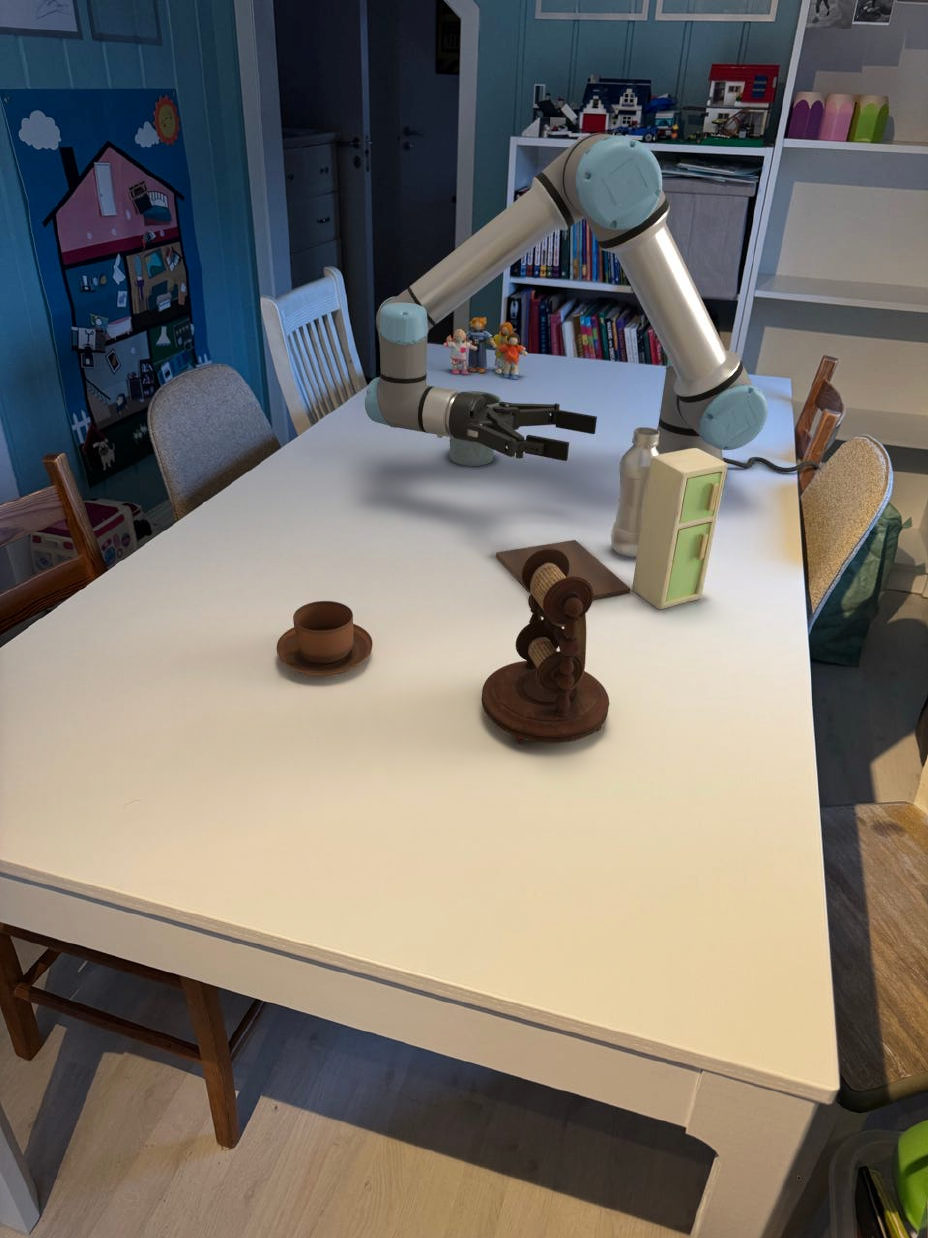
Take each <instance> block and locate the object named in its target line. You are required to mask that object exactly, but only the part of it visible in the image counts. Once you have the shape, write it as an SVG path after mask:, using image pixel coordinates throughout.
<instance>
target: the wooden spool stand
mask: <svg viewBox="0 0 928 1238" xmlns="http://www.w3.org/2000/svg"><path fill="white" fill-rule="evenodd" d="M569 568H570V565H569V560H568V558H567V556H566V555H565V554H564V553H563V552H562V551H560V550H558V549H554V548H546V549H542V550H539V551H537V552H535V553H534V554H533V555H531V556H530V557H529V558H528V559H527V561H526V562H525V564H524V566H523V569H522V573H521V577H522V582H523V584H524V586H525V587H526V588H527V589H528V590H529V591H531V594H530V593H529V595H528V598H527V602H528V604H527V605H528V607H529V609H530V613H532V614H531V615H530V616H531V617H530V618H529V620H528V624H526V625H525V626H523V628H522V629H521V630H520V631H519V633H518V635H517V636H516V639H515V650H516V653H517V654H518V656H519V657H520V658H522V659H523V660H521V661H516V662H512V663H509V664H506V665H504V666H501V667H500V668H498V669H497V670H494V671H493V672H492V673H491V674H490V675H489V676H488V677H487V678H486V679H485V681H484V683H483V686H482V690H481V706H482V709H483V712H484V714H485V716H487V717H486V718H488V719H489V720H490V721H491V722H492V724H494V725H495V726H496V727H497V728H499V729H500V730H502V731H503V732H505V733H507V734H510V735H511V736H514V739H515V742H516V744H517V745H519V746H520V745H522V744H523V743H524V741H525V740H526V741H530V742H536V743H544V744H545V743H546V744H560V743H569V742H575V741H578V740H581V739H583V738H586V737H589V736H590V735H592V734H594V733H595V732H596V733H597V732H600V730H601V729H602V727H603V725H604V723H605V722H606V720H607V717H608V714H609V709H610V708H609V707H610V698H609V693H608V692H607V690H606V688H605V687H604V685H603V684H602V683H601V682H600V681H599V680H598V679H597V678H596V677H594V676H593V675H592V674H591V673H589V672H587V671H585V670H586V657H587V615H586V614H587V613H588V611H589V610H590V609H591V607H592V605H593V601H594V600H593V597H594V593H593V589H592V586H591V585H590V583H589V582H588V581H587V580H585V579H583V578H581V577H576V576H571V577H567V576H568V573H569ZM524 586H523V587H524ZM525 587H524V588H525ZM526 588H525V589H526ZM558 649H559V650H558Z"/></svg>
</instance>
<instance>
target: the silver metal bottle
mask: <svg viewBox="0 0 928 1238" xmlns="http://www.w3.org/2000/svg"><path fill="white" fill-rule="evenodd" d="M659 434H660V432H659V431H658V430H657V428H653V427H647V426H645V427H636V428H635V429H634V430H633V435H632V436H633V437H632V438H631V443H632V446H630V448H629V449H628V450H627V451H626V452H625V453H624V454H623V455H622V457H621V459H620V460H619V498H618V506H617V511H616V515H615V521H614V523H613V525H612V529H611V533H610V543H611V544H610V545H611V547H612V548H613V550H614V551H615V552H616V553H617V554H619V555H622V556H624V557H625V556H626V557H631V558H632V557H633V558H634V557H635V558H637V552H638V545H639V538H640V532H641V525H642V519H643V512H644V505H645V498H646V491H647V484H648V477H649V471H650V464H651V459H652V457H653V456H654V455H659V452H658V450H657V448H656V446H658V444H659Z"/></svg>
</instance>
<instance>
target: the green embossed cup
mask: <svg viewBox="0 0 928 1238" xmlns="http://www.w3.org/2000/svg"><path fill="white" fill-rule="evenodd" d="M459 392H460V393H461V392H468V393H474V394H479V395H482V396H483V397H484V399H485V401H486V404H487V406H488V407H489V408H493V407H495V406H499V402H502V399H501V398H500V396H498V395H497V394H494V393H490V392H487V391H478V390H463V391H459ZM448 441H449V459H450V460H451V461H452V462H453V463H455V464H457V465H460V466H467V467H480V466H485V465H488V464H490V463H492V461H493V459H494V454H495V450H493V449H491V448H489V447H487V446H485V445H482V444H480V443H478V442H469V441H464V440H459V439H455V438H453V436H452V437H449V440H448Z"/></svg>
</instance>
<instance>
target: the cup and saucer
mask: <svg viewBox="0 0 928 1238" xmlns="http://www.w3.org/2000/svg"><path fill="white" fill-rule="evenodd" d="M292 621H293V622H292V623H293V627H292V628H290V629H288V630H286V631H285V632H284V633H283V634H282V635H280V637H279V638H278V641H277V643H276V649H275V650H276V653H277V656H278V658H279V660H280V661H281V662H282V663H283V664H284V665H285V666H286V667H288V668H290V669H291V670H293V671H295V672H298V673H302V674H304V675H311V676H333V675H338V674H342V673H345V672H349V671H351V670H353V669H355V668H357V667H358V666H359V665H361V664H363V663H364V662H365V661H366V660H367V659H368V658H369V657H370V654H371V652H372V650H373V643H374V642H373V639H372V636H371V634H370V633H369V632H368V631H367V630H366V629H365V628H363V627H362V626H360V625H357V624H355V623H354V612H353V610H352V609H351V608H350V607H349V606H348V605H346V604H344V603H342V602H338V601H332V600H319V601H318V600H317V601H313V602H308V603H306V604H303V605H301V606H300V607H298V608H297V609H296V610H295V611H294V612H293V615H292Z"/></svg>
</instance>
